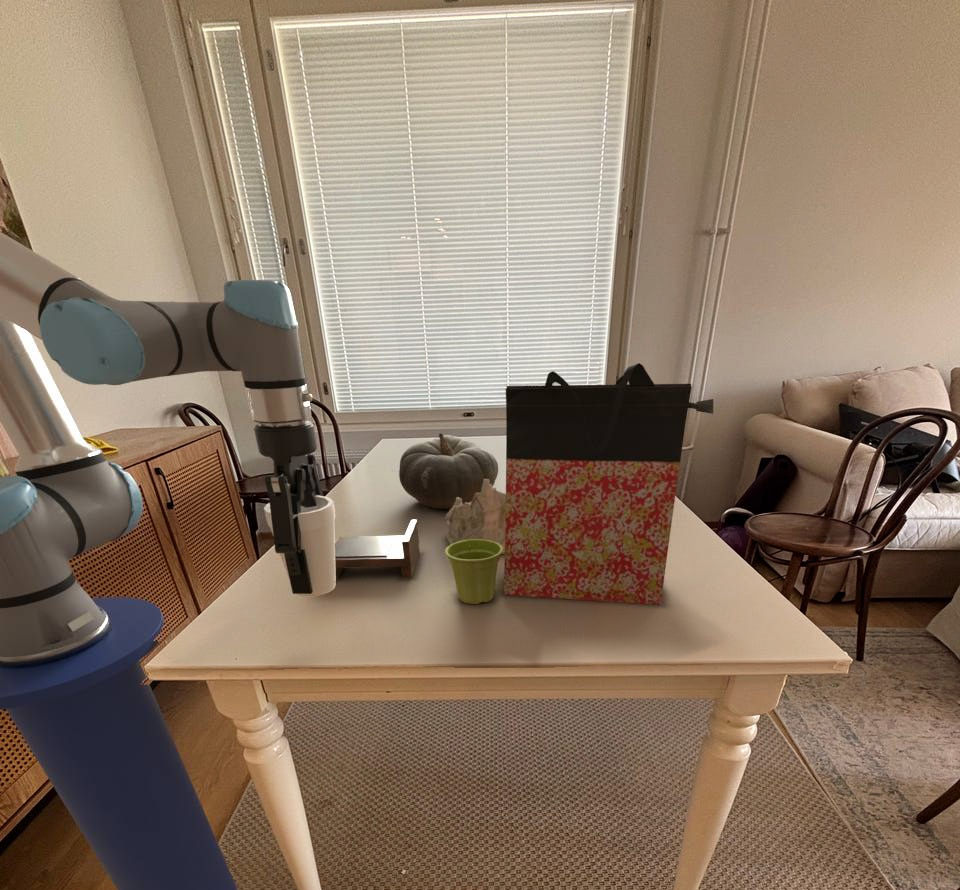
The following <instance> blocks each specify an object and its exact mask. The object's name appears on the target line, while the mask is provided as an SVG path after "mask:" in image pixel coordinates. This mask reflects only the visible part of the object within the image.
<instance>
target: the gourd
mask: <svg viewBox="0 0 960 890" xmlns="http://www.w3.org/2000/svg"><path fill="white" fill-rule="evenodd" d="M399 461H400V462H399V471H398V477H399V478H398V479H399V482H400V484H401V486H402V488H403V489H404V491H405V492H406V493H407V494H408V495H409V496H410V497H412V498H414V499H415V500H416V501H417V502H418V503H419V504H422V505H424V506H426V507H429V508H432V509H437V510H450V509H451V508H452V506H453V505H454V503H455V502H456V498H457V497H459V498H461V499H462V503H463V505H464V503H465V502H467V503H470V502H472V500H473V497H474V495H475V493H479V492H481V489H482V485H483V480H484V479H489V480H490V484H492V486H493V487H494V485H495V482H496V480H497V477H498V474H499V464H498V461H497V459H496V458H495V456H494V455H493V454H492V453H490V452H489V451H488V450H486V449H484V448H483V447H482V446H480V445H478V444H477V443H475V442H473V441H471V440H469V439H462V438H460V437H458V436H455V435H450V434H445V435H443V433H442V432H439V433H438V438H434V439H431V440H428V441H423V442H417V443H415V444H412V445H411V446H409V447H408V448H407V449H405V451H404V452H403V454H402V455H401V457H400V460H399Z"/></svg>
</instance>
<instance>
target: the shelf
mask: <svg viewBox="0 0 960 890" xmlns="http://www.w3.org/2000/svg"><path fill="white" fill-rule="evenodd" d="M418 525H419V523H418V519H410V522H409V524H408V527H407V528H406V531H405V534H404V535H369V536H368V535H365V536H363V535H362V536H339V537H338V539H337V540H335V567H336V581H337V580H338V578H339V577H340V576H341V574H342V572H343V571H344V569H347V568H391V567H392V568H393V567H394V568H395V567H398V568H399V567H400V570H401V578H402V580H403V579H404V580H405V579H413V576H414V573H415V570H416V567H417V564H418V561H419V558H420V554H421V551H420V537H419V536H420V535H419V526H418Z"/></svg>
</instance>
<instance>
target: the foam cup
mask: <svg viewBox="0 0 960 890" xmlns="http://www.w3.org/2000/svg"><path fill="white" fill-rule="evenodd" d="M315 498H316V505H317V506H314V507H308V508H306V507H303V506H301V513H298V514H293V519H294V518H295V517H296V516H298V521H299V526H300V531H301V549H305V554H306V559H307V564H308V569H309V574H310V580H311V585H312V590H313V592H312V594H296V595H297V596H301V597H307V598H308V597H310V598H311V597H318V596H322V595H326V594H328V593H330V592H332V591H333V590H335V589H336V586H337V583H336V582H337V580H336V567H335V543H336V535H335V534H336V532H335V531H336V529H335V527H336V526H335V519H336V510H335V504H334V500H332V499H331V497H328V496H325V495H323V496H319V495H316V496H315ZM263 511H264V516H265V520H266V524H267V526H268V527H269V529H270V531H271V534H272V536H273V527H272V519H271V510H270V502H268V503H267V504H266V505H265V506H264V507H263ZM273 538H274V536H273ZM279 555H280V559H281V561H282V563H283V567H284V569H285V572H286V575H287V577H288V579H289V574H288V569H287V565H286V560H285V556H284V553H279ZM289 581H290V579H289Z"/></svg>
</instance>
